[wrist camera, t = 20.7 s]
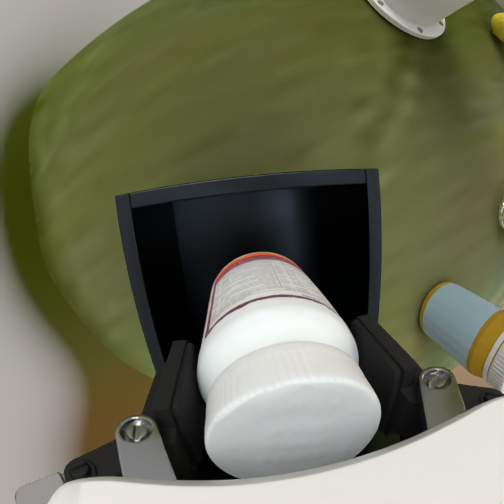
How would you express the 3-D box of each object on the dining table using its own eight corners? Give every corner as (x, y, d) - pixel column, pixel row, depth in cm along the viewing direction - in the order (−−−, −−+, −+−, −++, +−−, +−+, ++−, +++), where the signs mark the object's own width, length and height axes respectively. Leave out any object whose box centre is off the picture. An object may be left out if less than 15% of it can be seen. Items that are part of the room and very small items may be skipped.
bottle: (413, 338, 29) (487, 411, 14) (419, 286, 27) (514, 348, 12) (452, 324, 29) (525, 380, 14) (459, 274, 27) (547, 321, 13)
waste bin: (164, 191, 23) (114, 195, 13) (318, 174, 24) (378, 168, 13) (192, 349, 27) (177, 427, 16) (325, 332, 27) (366, 400, 17)
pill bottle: (279, 351, 18) (320, 495, 7) (195, 318, 17) (160, 469, 6) (326, 274, 17) (434, 386, 6) (237, 230, 16) (247, 324, 5)
